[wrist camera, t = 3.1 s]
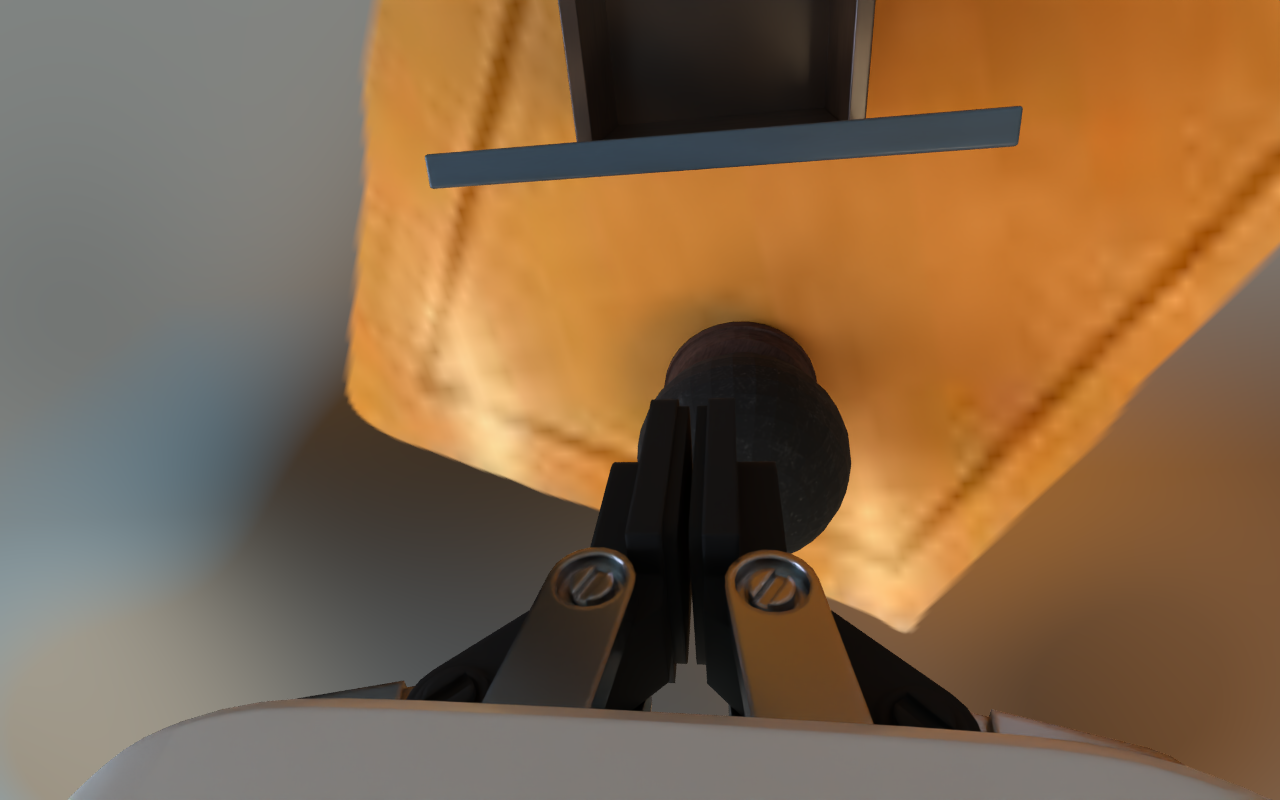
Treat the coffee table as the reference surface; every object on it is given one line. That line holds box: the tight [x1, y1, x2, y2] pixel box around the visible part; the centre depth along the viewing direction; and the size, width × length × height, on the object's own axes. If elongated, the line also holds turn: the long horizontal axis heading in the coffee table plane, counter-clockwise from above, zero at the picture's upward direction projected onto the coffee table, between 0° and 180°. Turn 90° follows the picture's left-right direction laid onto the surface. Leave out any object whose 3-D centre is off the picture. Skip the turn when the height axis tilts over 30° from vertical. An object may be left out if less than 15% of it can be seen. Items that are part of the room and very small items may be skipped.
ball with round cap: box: [637, 322, 851, 554], centre depth 40 cm, size 13×13×15 cm
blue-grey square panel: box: [425, 106, 1023, 189], centre depth 22 cm, size 16×14×1 cm
